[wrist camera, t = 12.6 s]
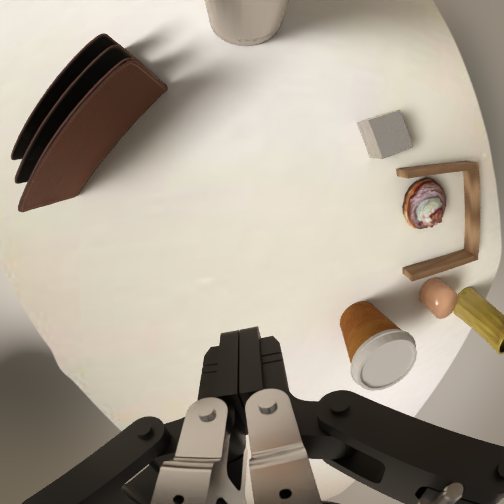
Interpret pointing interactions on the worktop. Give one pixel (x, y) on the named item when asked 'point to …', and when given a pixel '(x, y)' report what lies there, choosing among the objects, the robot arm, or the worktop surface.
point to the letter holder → (81, 121)
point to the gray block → (385, 134)
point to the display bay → (471, 218)
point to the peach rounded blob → (438, 297)
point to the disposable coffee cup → (376, 347)
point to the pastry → (424, 204)
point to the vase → (481, 317)
